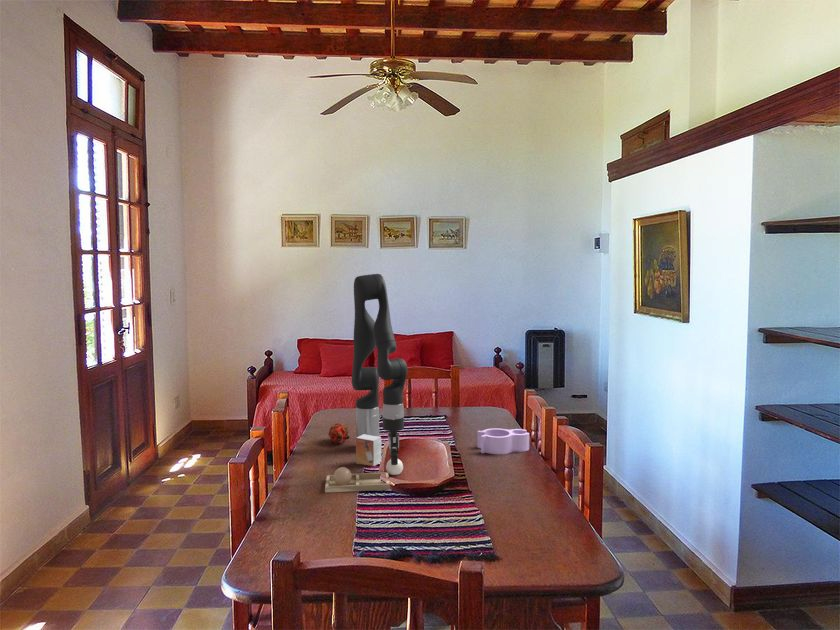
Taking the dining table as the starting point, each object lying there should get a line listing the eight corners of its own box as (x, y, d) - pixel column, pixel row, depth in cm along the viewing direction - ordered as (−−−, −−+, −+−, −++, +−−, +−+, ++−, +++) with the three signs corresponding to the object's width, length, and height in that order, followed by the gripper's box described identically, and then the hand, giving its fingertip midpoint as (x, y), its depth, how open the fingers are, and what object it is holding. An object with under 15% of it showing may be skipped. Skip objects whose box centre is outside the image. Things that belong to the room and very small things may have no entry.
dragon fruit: (340, 440, 245) (341, 453, 233) (324, 431, 242) (324, 443, 231) (351, 425, 244) (353, 437, 232) (335, 415, 242) (336, 427, 230)
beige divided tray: (327, 482, 194) (327, 475, 194) (388, 479, 197) (388, 472, 196) (325, 494, 183) (325, 487, 183) (389, 491, 186) (389, 484, 185)
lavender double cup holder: (523, 443, 235) (523, 427, 234) (532, 453, 222) (532, 436, 222) (475, 445, 233) (475, 429, 232) (482, 455, 220) (482, 438, 220)
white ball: (385, 472, 203) (385, 456, 202) (402, 471, 204) (402, 455, 203) (386, 478, 197) (386, 461, 196) (403, 477, 198) (403, 461, 197)
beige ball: (334, 482, 192) (333, 465, 192) (351, 481, 193) (351, 464, 192) (333, 489, 186) (332, 471, 186) (351, 488, 187) (351, 470, 186)
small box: (355, 465, 211) (355, 437, 210) (363, 460, 216) (363, 433, 215) (373, 468, 207) (373, 440, 206) (381, 463, 212) (381, 436, 211)
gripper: (381, 411, 205) (382, 454, 206) (383, 421, 191) (383, 468, 192) (402, 410, 206) (403, 453, 207) (405, 420, 191) (405, 467, 193)
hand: (393, 460), depth 199 cm, fingers open, 8 cm apart
